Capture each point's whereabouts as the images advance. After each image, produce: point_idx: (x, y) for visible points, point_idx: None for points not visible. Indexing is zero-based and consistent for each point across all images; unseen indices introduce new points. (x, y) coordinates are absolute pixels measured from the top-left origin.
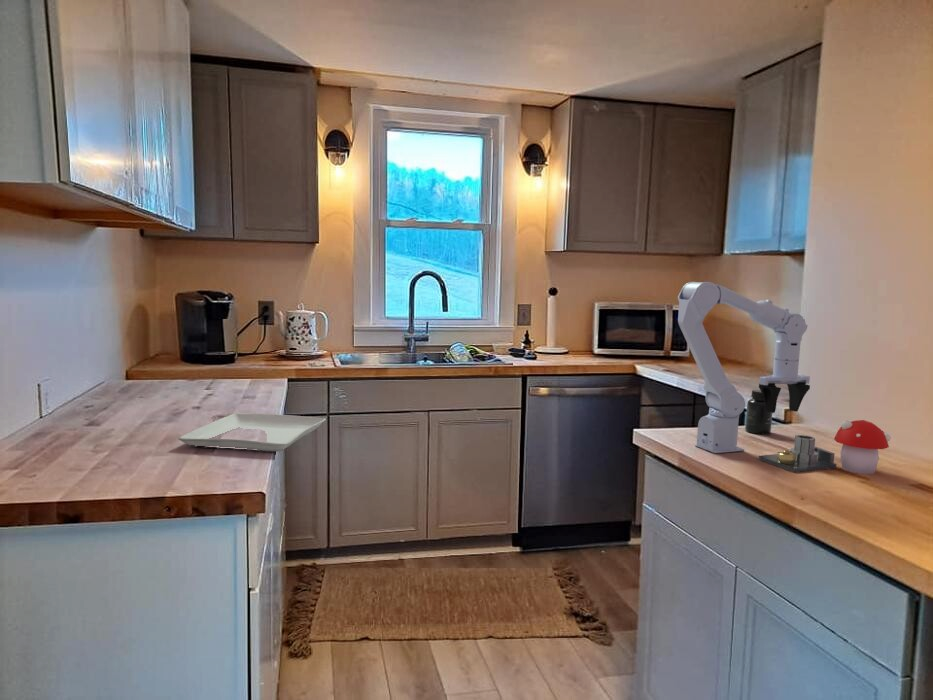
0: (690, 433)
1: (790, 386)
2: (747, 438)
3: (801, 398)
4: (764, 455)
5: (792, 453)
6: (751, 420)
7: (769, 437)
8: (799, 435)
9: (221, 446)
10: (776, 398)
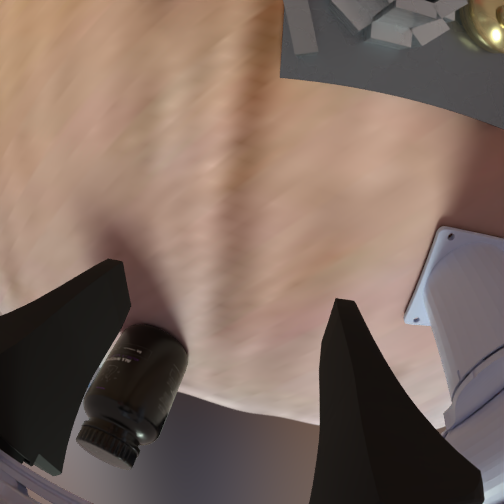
0: None
1: (51, 449)
2: (252, 325)
3: (37, 309)
4: (485, 119)
5: (479, 1)
6: (175, 383)
7: (164, 303)
8: (415, 1)
9: None
10: (370, 392)
